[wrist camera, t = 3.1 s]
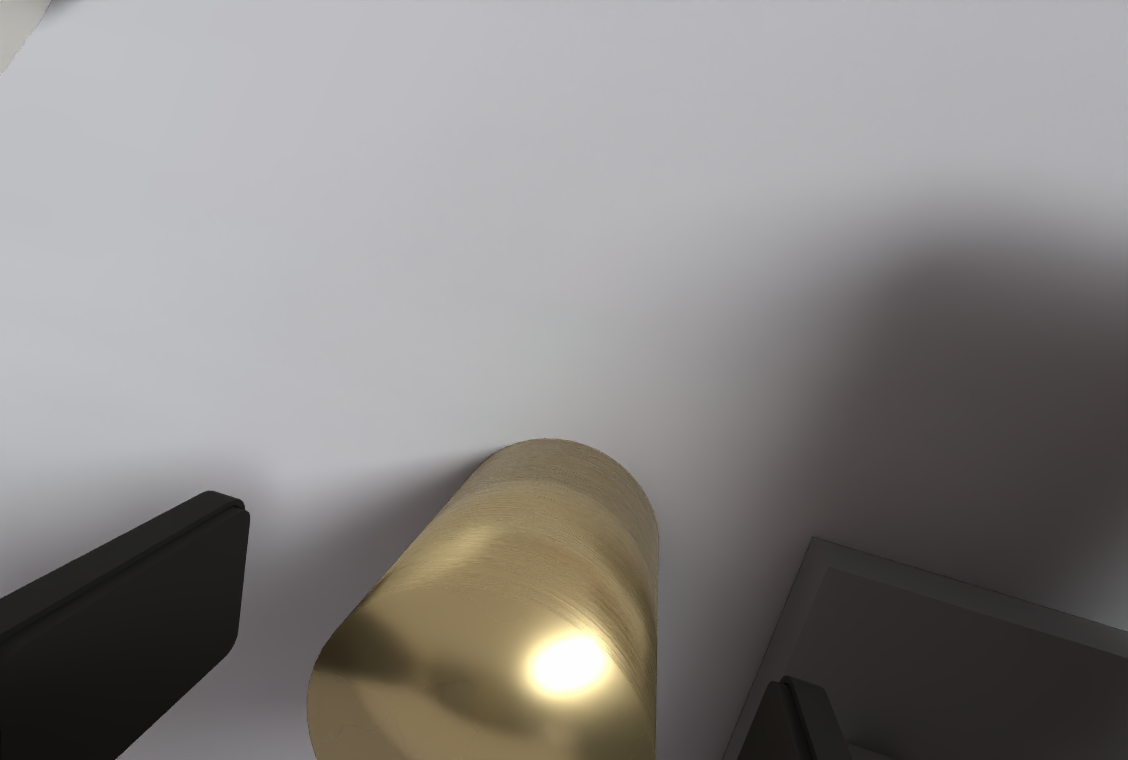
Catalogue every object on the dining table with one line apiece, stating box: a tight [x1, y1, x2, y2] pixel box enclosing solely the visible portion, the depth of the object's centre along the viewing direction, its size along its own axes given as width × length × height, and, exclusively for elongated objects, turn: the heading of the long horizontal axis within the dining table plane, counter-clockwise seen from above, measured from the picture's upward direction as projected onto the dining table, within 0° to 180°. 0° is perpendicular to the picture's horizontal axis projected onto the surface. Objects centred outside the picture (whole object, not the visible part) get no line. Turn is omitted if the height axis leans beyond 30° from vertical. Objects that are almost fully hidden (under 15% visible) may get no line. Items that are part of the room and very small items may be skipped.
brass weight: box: [307, 438, 659, 760], centre depth 11 cm, size 5×5×6 cm
